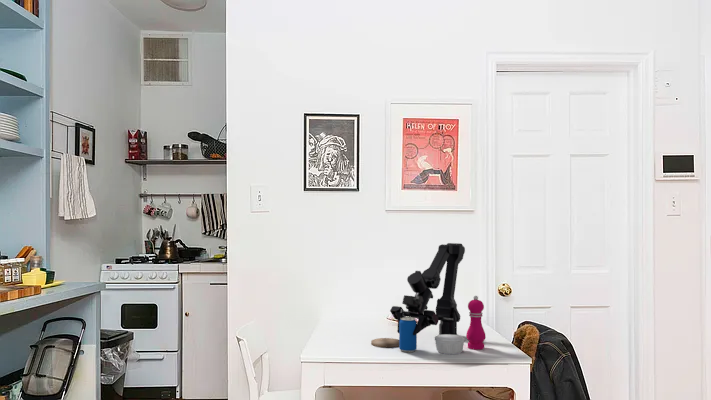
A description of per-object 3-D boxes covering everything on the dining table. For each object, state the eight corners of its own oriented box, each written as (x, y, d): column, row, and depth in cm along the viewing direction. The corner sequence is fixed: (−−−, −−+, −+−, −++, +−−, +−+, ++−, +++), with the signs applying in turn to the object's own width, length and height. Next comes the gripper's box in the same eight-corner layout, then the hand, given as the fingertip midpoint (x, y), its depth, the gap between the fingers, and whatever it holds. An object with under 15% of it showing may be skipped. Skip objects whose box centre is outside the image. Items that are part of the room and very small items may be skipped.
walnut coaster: (396, 339, 229) (396, 337, 229) (405, 346, 217) (405, 344, 217) (368, 341, 227) (368, 338, 227) (375, 348, 215) (375, 345, 215)
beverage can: (418, 349, 213) (418, 317, 214) (414, 353, 207) (414, 320, 208) (401, 348, 215) (401, 316, 216) (397, 351, 209) (397, 319, 210)
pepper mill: (481, 351, 211) (481, 297, 212) (463, 348, 215) (463, 296, 216) (488, 347, 217) (488, 295, 218) (470, 344, 221) (470, 293, 222)
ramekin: (446, 356, 203) (446, 342, 203) (428, 350, 213) (428, 336, 213) (471, 353, 208) (471, 338, 209) (451, 346, 218) (451, 333, 218)
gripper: (392, 285, 221) (376, 317, 212) (434, 289, 210) (419, 323, 200) (403, 302, 227) (388, 335, 218) (444, 307, 216) (430, 341, 207)
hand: (405, 333), depth 210 cm, fingers closed on beverage can, 6 cm apart
